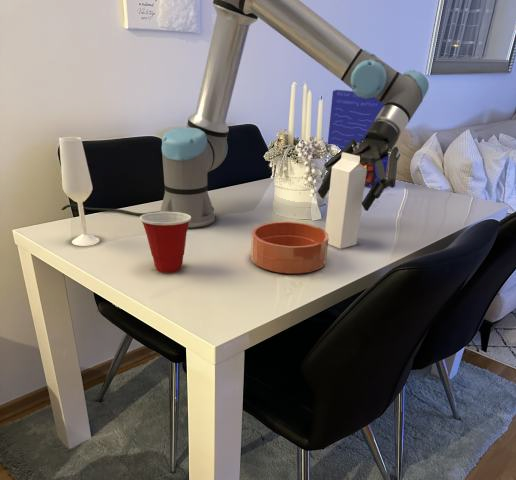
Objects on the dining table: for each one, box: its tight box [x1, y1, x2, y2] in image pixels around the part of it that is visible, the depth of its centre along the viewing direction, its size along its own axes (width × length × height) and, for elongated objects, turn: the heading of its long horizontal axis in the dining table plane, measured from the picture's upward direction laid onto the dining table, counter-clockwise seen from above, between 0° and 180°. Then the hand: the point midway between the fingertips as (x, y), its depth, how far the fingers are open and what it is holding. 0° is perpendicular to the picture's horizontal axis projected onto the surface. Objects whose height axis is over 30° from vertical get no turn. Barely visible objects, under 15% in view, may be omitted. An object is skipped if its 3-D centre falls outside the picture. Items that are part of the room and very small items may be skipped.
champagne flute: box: [58, 136, 100, 247], centre depth 119 cm, size 7×7×24 cm
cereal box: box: [327, 89, 389, 189], centre depth 180 cm, size 22×6×30 cm, turn 52°
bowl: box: [250, 221, 329, 275], centre depth 118 cm, size 18×18×6 cm
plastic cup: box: [139, 211, 191, 274], centre depth 110 cm, size 11×11×12 cm
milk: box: [324, 152, 367, 250], centre depth 125 cm, size 6×6×22 cm
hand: (341, 201), depth 124 cm, fingers open, 13 cm apart
